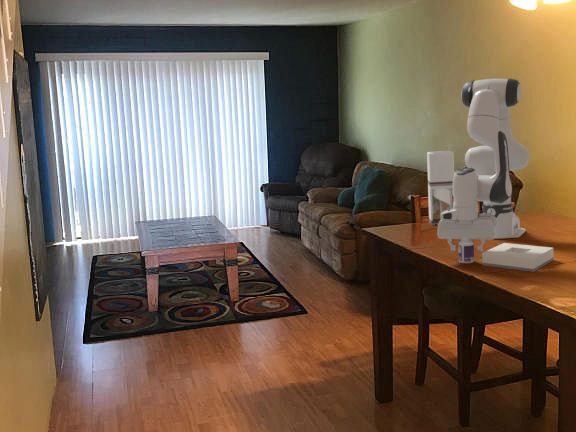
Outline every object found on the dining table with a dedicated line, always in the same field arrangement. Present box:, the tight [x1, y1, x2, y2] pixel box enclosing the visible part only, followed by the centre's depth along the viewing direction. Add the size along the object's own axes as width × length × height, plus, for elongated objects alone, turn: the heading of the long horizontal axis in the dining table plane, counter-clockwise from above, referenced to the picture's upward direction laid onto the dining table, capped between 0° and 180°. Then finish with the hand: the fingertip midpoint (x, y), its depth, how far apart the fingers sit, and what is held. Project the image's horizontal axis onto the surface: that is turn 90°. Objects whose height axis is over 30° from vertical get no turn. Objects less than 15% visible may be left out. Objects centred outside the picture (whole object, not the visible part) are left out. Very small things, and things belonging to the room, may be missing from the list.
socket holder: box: [481, 242, 554, 273], centre depth 206 cm, size 18×18×4 cm
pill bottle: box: [457, 237, 475, 264], centre depth 212 cm, size 5×5×10 cm
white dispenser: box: [426, 150, 455, 226], centre depth 285 cm, size 11×11×35 cm
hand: (466, 250), depth 212 cm, fingers open, 8 cm apart
